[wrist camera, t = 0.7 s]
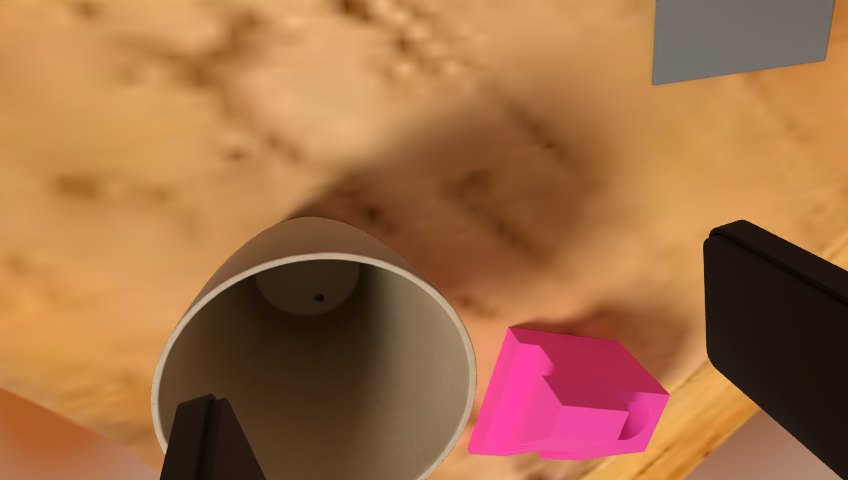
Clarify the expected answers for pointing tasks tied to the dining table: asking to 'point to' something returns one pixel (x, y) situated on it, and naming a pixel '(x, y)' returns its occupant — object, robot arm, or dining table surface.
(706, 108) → the dining table surface
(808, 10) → the mat
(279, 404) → the plant pot
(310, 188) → the dining table surface
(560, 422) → the bracket
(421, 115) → the dining table surface
